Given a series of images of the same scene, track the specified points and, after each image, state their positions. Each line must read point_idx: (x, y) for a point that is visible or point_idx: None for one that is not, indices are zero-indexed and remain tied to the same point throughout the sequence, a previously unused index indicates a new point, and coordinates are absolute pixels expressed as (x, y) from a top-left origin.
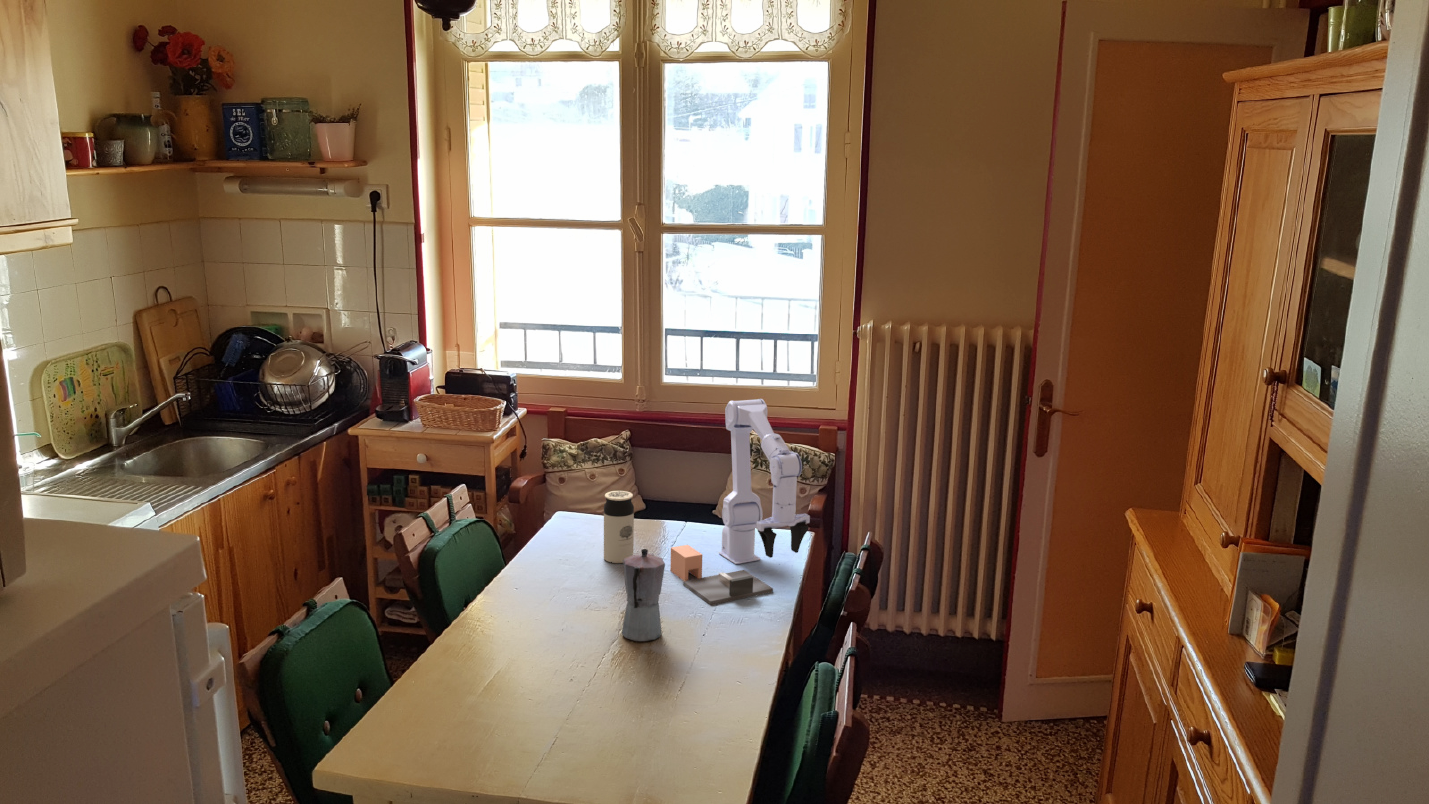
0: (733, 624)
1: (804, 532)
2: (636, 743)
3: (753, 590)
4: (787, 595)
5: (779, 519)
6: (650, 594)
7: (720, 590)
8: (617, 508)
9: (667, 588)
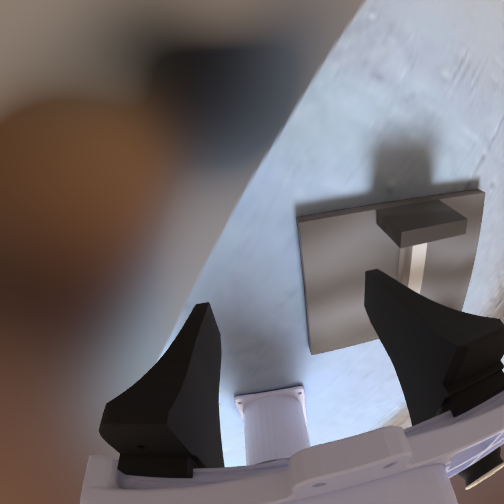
0: (478, 61)
1: (141, 391)
2: None
3: (365, 224)
4: (259, 180)
5: (450, 485)
6: None
7: (437, 248)
8: (498, 452)
9: (482, 295)
